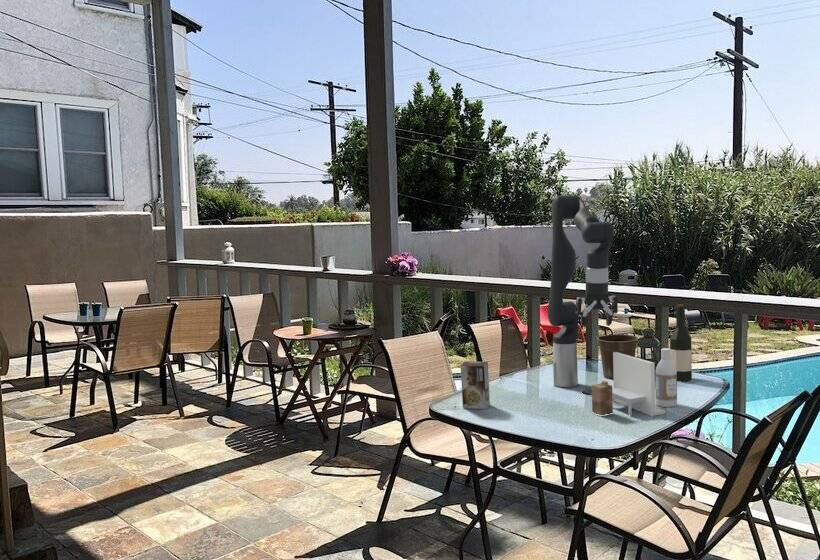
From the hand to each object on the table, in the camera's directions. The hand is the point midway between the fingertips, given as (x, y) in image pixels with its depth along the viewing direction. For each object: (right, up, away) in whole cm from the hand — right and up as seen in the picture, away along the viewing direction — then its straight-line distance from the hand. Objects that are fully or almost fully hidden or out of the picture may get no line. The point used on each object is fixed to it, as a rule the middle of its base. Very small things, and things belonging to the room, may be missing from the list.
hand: (596, 325), depth 238 cm
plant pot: (+21, -24, +44) cm, 54 cm away
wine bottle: (+43, -24, +34) cm, 60 cm away
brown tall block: (+1, -30, -4) cm, 30 cm away
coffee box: (-41, -31, +12) cm, 52 cm away
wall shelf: (+12, -29, 0) cm, 31 cm away
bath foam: (+25, -28, +2) cm, 38 cm away
